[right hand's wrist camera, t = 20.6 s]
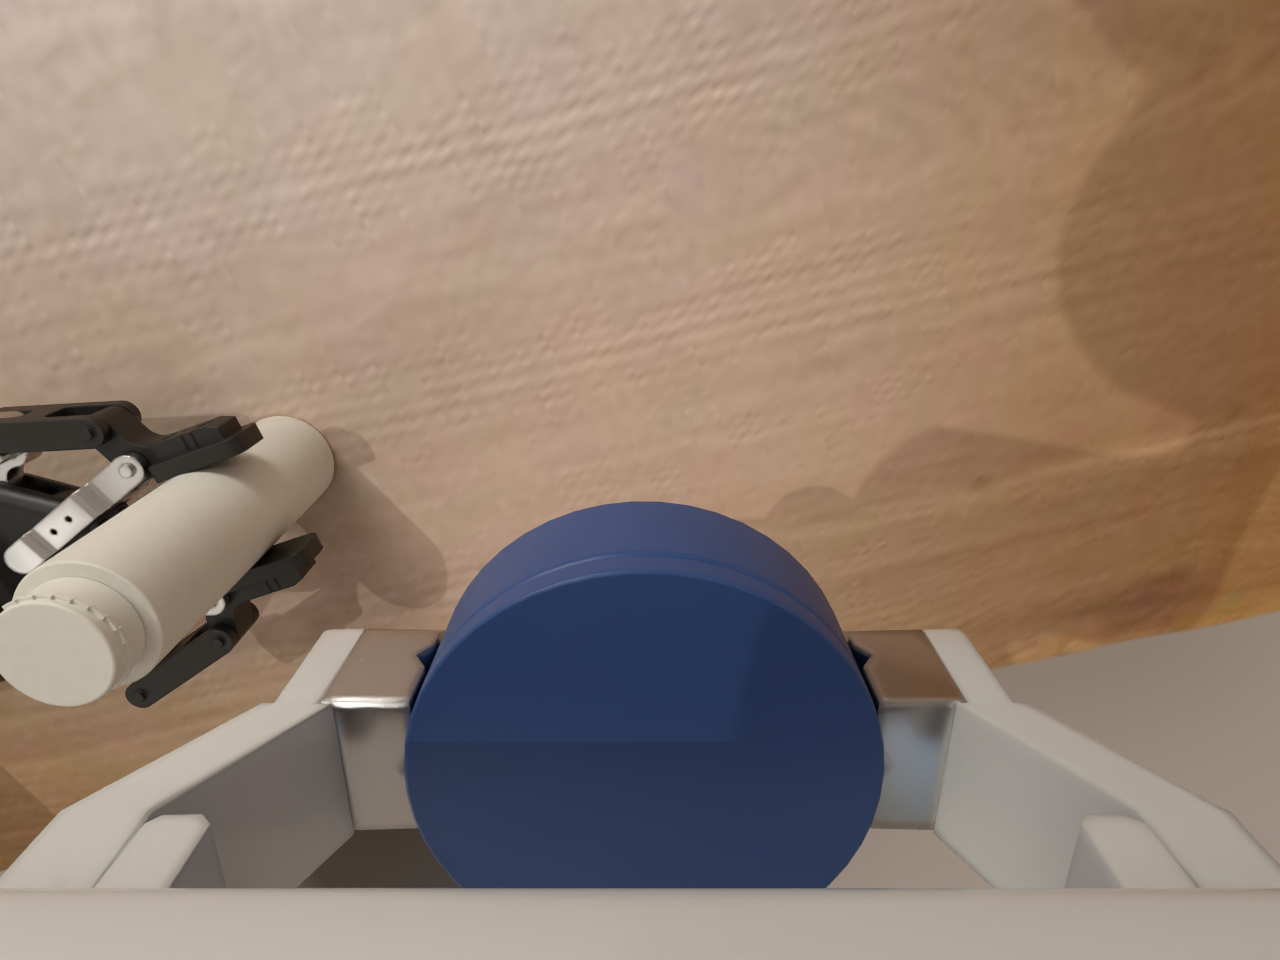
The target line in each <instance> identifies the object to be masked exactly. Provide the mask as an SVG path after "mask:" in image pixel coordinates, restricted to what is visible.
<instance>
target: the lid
mask: <svg viewBox="0 0 1280 960" xmlns="http://www.w3.org/2000/svg"><path fill="white" fill-rule="evenodd" d="M404 775H405V783H406V791H407V796H408V799H409V803H410V806H411V810H412V813H413V817H414V819H415V822H416V824H417V826H418V828H419V830H420V832H421V835H422V837H423V839H424V841H425V843H426V844H427V846H428V847H429V849H430V850H431V852H432V853H433V855H434V856H435V858H436V859H437V861H438V862H439V864H440V865H441V866H442V867H443V868H444V869H445V871H446V872H447V873H448V874H449V875H450V876H451V877H452V879H453V880H454V881H455V882H456V883H457V884H458V885H459V886H460V887H462V888H826V887H827V886H828V885H830V884H831V882H832V881H833V880H834V879H835V878H836V877H837V876H838V875H839V874H840V873H841V871H842V870H843V869H844V868H845V867H846V866H847V865H848V863H849V862H850V860H851V859H852V857H853V856H854V854H855V853H856V852H857V850H858V849H859V847H860V846H861V844H862V842H863V840H864V838H865V836H866V834H867V832H868V830H869V828H870V826H871V824H872V822H873V819H874V816H875V813H876V810H877V807H878V803H879V800H880V797H881V790H882V784H883V777H884V743H883V737H882V731H881V726H880V720H879V718H878V715H877V712H876V709H875V706H874V704H873V701H872V698H871V695H870V693H869V691H868V688H867V686H866V684H865V682H864V680H863V678H862V676H861V673H860V670H859V668H858V666H857V664H856V661H855V659H854V657H853V655H852V652H851V650H850V648H849V646H848V643H847V641H846V639H845V637H844V634H843V632H842V630H841V628H840V625H839V623H838V621H837V619H836V616H835V614H834V612H833V610H832V608H831V606H830V604H829V603H828V601H827V599H826V597H825V595H824V593H823V592H822V590H821V589H820V587H819V586H818V585H817V583H816V582H815V581H814V579H813V578H812V577H811V575H810V574H809V573H808V571H807V570H806V569H805V568H804V567H803V566H802V565H801V564H800V563H799V562H798V561H797V560H796V559H795V558H794V557H793V556H792V555H791V554H790V553H789V552H787V551H786V550H785V549H783V548H782V547H781V546H779V545H778V544H777V543H775V542H774V541H773V540H771V539H770V538H768V537H767V536H765V535H764V534H762V533H760V532H758V531H756V530H755V529H753V528H751V527H749V526H747V525H746V524H744V523H742V522H739V521H736V520H734V519H731V518H729V517H726V516H724V515H721V514H719V513H716V512H712V511H708V510H704V509H700V508H697V507H693V506H688V505H681V504H673V503H665V502H623V503H615V504H606V505H600V506H596V507H591V508H587V509H583V510H579V511H575V512H572V513H569V514H567V515H564V516H561V517H559V518H556V519H553V520H551V521H548V522H546V523H544V524H542V525H540V526H539V527H537V528H535V529H533V530H531V531H529V532H527V533H525V534H523V535H522V536H521V537H519V538H518V539H516V540H515V541H514V542H512V543H511V544H509V545H508V546H507V547H505V548H504V549H502V550H501V551H500V552H499V553H498V554H497V555H496V556H495V557H494V558H493V559H492V560H491V561H490V562H489V563H487V564H486V565H485V566H484V567H483V568H482V570H481V571H480V572H479V573H478V575H477V576H476V577H475V578H474V580H473V581H472V582H471V583H470V585H469V586H468V587H467V589H466V591H465V592H464V594H463V596H462V598H461V599H460V601H459V603H458V604H457V606H456V608H455V610H454V613H453V615H452V617H451V620H450V622H449V624H448V627H447V629H446V631H445V634H444V636H443V638H442V641H441V643H440V645H439V648H438V650H437V652H436V655H435V657H434V659H433V662H432V664H431V666H430V669H429V671H428V674H427V676H426V678H425V681H424V683H423V685H422V688H421V690H420V692H419V695H418V697H417V700H416V703H415V705H414V708H413V710H412V713H411V715H410V719H409V724H408V729H407V733H406V738H405V746H404Z"/></svg>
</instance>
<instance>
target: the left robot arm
mask: <svg viewBox="0 0 1280 960" xmlns="http://www.w3.org/2000/svg"><path fill="white" fill-rule="evenodd" d="M263 438H264V437H263V436H262V434H261V432H260V430H259V428H258V427H257V425H256V423H255V422H254V423H250V424H247V425H245V426H242V427H241V426H240V424H239V422H238V420H237V418H236V417H235V416H220V417H217V418H214V419H212V420H209V421H206V422H203V423H200V424H197V425H195V426H192V427H189V428H186V429H183V430H181V431H178V432H175V433H172V434H169V435H159V434H156V433H154V432H152V431H150V430H149V429H148V428H146V427H145V426H144V425H143V424H142V423H141V413H140V411H139V409H138V408H137V407H136V406H135V405H134V404H132V403H130V402H128V401H107V402H89V403H71V404H53V405H35V406H17V407H3V408H0V613H1V612H3V611H4V609H3V608H2V606H3V605H5V604H7V603H9V602H11V601H12V599H13V596H14V593H15V590H16V588H17V587H18V585H19V583H20V582H21V581H22V579H23V578H24V577H25V576H26V575H27V574H28V573H29V572H31V571H32V570H34V569H35V568H37V567H38V566H40V565H41V564H43V563H44V562H46V561H47V560H49V559H50V558H52V557H53V556H55V555H56V554H58V553H60V552H61V551H63V550H64V549H66V548H67V547H69V546H70V545H72V544H73V543H75V542H76V541H78V540H79V539H81V538H82V537H84V536H85V535H87V534H88V533H90V532H91V531H93V530H94V529H96V528H97V527H99V526H100V525H102V524H103V523H105V522H106V521H108V520H109V519H111V518H112V517H114V516H115V515H117V514H118V513H120V512H121V511H123V510H125V509H126V508H128V507H129V506H128V505H127V502H128V501H130V500H131V499H132V498H133V497H134V496H135V495H137V494H138V493H139V492H140V491H141V490H142V489H144V488H145V487H146V486H147V485H148V484H149V482H150V481H151V480H153V479H155V480H156V482H157V483H159V482H162V481H165V480H168V479H171V478H174V477H176V476H178V475H182V474H185V473H188V472H191V471H194V470H197V469H200V468H203V467H205V466H208V465H211V464H214V463H217V462H220V461H223V460H225V459H228V458H231V457H234V456H236V455H239V454H241V453H243V452H245V451H247V450H248V449H250V448H251V447H252V446H254V445H255V444H257V443H258V442H259V441H261V440H262V439H263ZM94 448H96V449H97V450H98V451H99V452H100V453H101V454H102V455H104V456H105V457H106V458H107V459H108V460H109V461H110V462H111V463H110V464H108V465H107V466H106V467H105V468H104V469H103V470H102V471H100V472H99V473H98V474H97V475H96V476H95V477H94V478H92V479H91V480H90V481H89V482H88V483H86V484H85V485H84V486H82V487H78V486H74V485H70V484H66V483H62V482H59V481H55V480H51V479H47V478H43V477H40V476H36V475H32V474H28V473H24V471H23V468H24V465H25V463H28V462H30V461H32V460H34V459H36V458H38V457H39V456H40V455H41V454H42V452H43V451H61V450H79V449H94ZM322 549H323V546H322V544H321V542H320V541H319V539H318V537H317V535H316V533H310V534H306V535H303V536H300V537H297V538H294V539H291V540H288V541H285V542H282V543H279V544H276V545H273V546H272V547H271V548H270V549H269V550H268V551H267V552H266V553H265V554H264V555H263V556H262V557H261V558H260V559H259V560H258V561H257V562H256V563H255V564H254V565H253V566H252V567H251V568H250V569H249V570H248V571H247V572H246V573H245V574H244V576H243V577H242V578H241V579H240V580H239V581H238V582H237V583H236V584H235V585H234V586H233V587H232V588H231V589H230V590H229V591H228V592H227V593H226V594H225V595H224V596H223V597H222V598H221V599H220V600H219V601H218V602H217V603H216V604H215V605H214V606H213V608H212V609H211V610H210V611H209V612H208V613H207V614H206V620H207V623H205V624H204V625H202V626H201V627H200V628H198V629H197V630H195V631H194V632H192V633H191V634H190V635H188V636H187V637H185V638H184V639H182V640H181V641H180V642H179V643H178V644H177V645H176V646H175V647H174V648H173V649H172V650H171V651H170V652H169V653H168V654H167V655H166V656H165V657H164V658H163V659H162V660H161V661H160V662H159V663H158V664H157V665H156V666H155V667H154V668H153V669H152V670H151V672H149V673H148V674H147V675H146V676H144V677H143V678H141V679H139V680H137V681H135V682H133V683H132V684H131V685H130V686H129V687H128V688H127V689H126V692H125V695H126V698H127V700H128V701H129V702H130V703H131V704H133V705H134V706H137V707H141V708H145V707H149V706H151V705H152V704H154V703H155V702H156V701H158V700H159V699H161V698H162V697H164V696H165V695H167V694H168V693H170V692H171V691H173V690H174V689H176V688H177V687H179V686H180V685H181V684H183V683H184V682H186V681H187V680H189V679H190V678H192V677H193V676H195V675H196V674H198V673H199V672H201V671H202V670H204V669H205V668H206V667H208V666H209V665H211V664H212V663H214V662H215V661H217V660H218V659H220V658H221V657H223V656H224V655H226V654H227V653H229V652H230V651H231V650H232V648H233V647H234V646H235V645H236V644H237V643H238V642H239V640H240V639H241V638H242V637H243V636H244V635H245V633H246V632H247V631H248V630H249V629H250V627H251V626H252V625H253V624H254V623H255V622H256V620H257V619H258V617H259V611H258V609H257V607H256V606H255V605H254V604H252V603H251V602H250V600H251V599H254V598H257V597H260V596H263V595H266V594H270V593H272V592H276V591H279V590H281V589H285V588H288V587H291V586H294V585H295V584H297V583H298V582H299V581H300V580H301V579H302V578H303V577H304V576H305V575H306V574H307V572H308V571H309V570H310V569H311V568H312V566H313V565H314V564H315V563H316V562H315V560H314V558H315V557H316V556H317V555H318V554H319V552H320V551H321V550H322ZM2 681H5V679H4V677H3V676H2V675H1V674H0V682H2Z"/></svg>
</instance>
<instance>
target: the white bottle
mask: <svg viewBox="0 0 1280 960" xmlns="http://www.w3.org/2000/svg"><path fill="white" fill-rule="evenodd" d="M256 425H257V427H258V428H259V430H260V432H261V434H262V436H263V437H264V438H263V439H262V440H261V441H259V442H258V443H257V444H255V445H254V446H252V447H251V448H250V449H248V450H247V451H245V452H243V453H241V454H239V455H236V456H234V457H231V458H228V459H225V460H223V461H220V462H217V463H214V464H211V465H208V466H205V467H203V468H200V469H197V470H194V471H191V472H188V473H185V474H182V475H178V476H176V477H174V478H171V479H170V480H168V481H167V482H165V483H164V484H162V485H161V486H159V487H158V488H156V489H155V490H153V491H152V492H150V493H149V494H147V495H146V496H144V497H143V498H141V499H140V500H138V501H137V502H135V503H134V504H132V505H131V506H129V507H128V508H126V509H125V510H123V511H121V512H120V513H118V514H117V515H115V516H114V517H112V518H111V519H109V520H108V521H106V522H105V523H103V524H102V525H100V526H99V527H97V528H96V529H94V530H93V531H91V532H90V533H88V534H87V535H85V536H84V537H82V538H81V539H79V540H78V541H76V542H75V543H73V544H72V545H70V546H69V547H67V548H66V549H64V550H63V551H61V552H60V553H58V554H56V555H55V556H53V557H52V558H50V559H49V560H47V561H46V562H44V563H43V564H41V565H40V566H38V567H37V568H35V569H34V570H32V571H31V572H29V573H28V574H27V575H26V576H25V577H24V578H23V579H22V581H21V582H20V583H19V585H18V587H17V588H16V590H15V593H14V596H13V599H12V601H11V602H9V603H7V604H5V605H3V606H2V608H3V609H4V611H3V612H1V613H0V674H1V675H2V676H3V677H4V679H5V680H6V681H7V682H8V683H10V684H11V685H12V686H13V687H14V688H16V689H17V690H18V691H20V692H21V693H23V694H25V695H26V696H28V697H30V698H32V699H34V700H37V701H40V702H42V703H46V704H50V705H55V706H63V707H73V706H81V705H85V704H88V703H91V702H93V701H96V700H97V699H99V698H101V697H102V696H104V695H105V694H106V693H107V692H109V691H111V690H112V689H114V688H115V689H116V688H117V687H119V686H123V685H127V684H130V683H133V682H135V681H137V680H139V679H141V678H143V677H144V676H146V675H147V674H148V673H149V672H151V670H152V669H153V668H154V667H155V666H156V665H157V664H158V663H159V662H160V661H161V660H162V659H163V658H164V657H165V656H166V655H167V654H168V653H169V652H170V651H171V650H172V649H173V648H174V647H175V646H176V645H177V644H178V643H179V642H180V641H181V640H182V638H183V637H184V636H185V635H186V634H187V633H188V632H189V631H190V630H191V629H192V628H193V627H194V626H195V625H196V624H197V623H198V622H199V621H200V620H201V619H202V618H203V617H204V616H205V615H206V614H207V613H208V612H209V611H210V610H211V609H212V608H213V606H214V605H215V604H216V603H217V602H218V601H219V600H220V599H221V598H222V597H223V596H224V595H225V594H226V593H227V592H228V591H229V590H230V589H231V588H232V587H233V586H234V585H235V584H236V583H237V582H238V581H239V580H240V579H241V578H242V577H243V576H244V574H245V573H246V572H247V571H248V570H249V569H250V568H251V567H252V566H253V565H254V564H255V563H256V562H257V561H258V560H259V559H260V558H261V557H262V556H263V555H264V554H265V553H266V552H267V551H268V550H269V549H270V548H271V547H272V546H273V545H274V543H275V542H276V541H277V540H278V539H279V538H280V537H281V536H282V535H283V534H284V533H285V532H286V531H287V530H288V529H289V528H290V527H291V526H292V525H293V524H294V523H295V522H296V521H297V520H298V519H299V518H300V517H301V516H302V515H303V514H304V513H305V511H306V510H307V509H308V508H309V507H310V506H311V505H312V504H313V503H314V502H315V501H316V500H317V499H318V498H319V497H320V496H321V495H322V494H323V493H324V492H325V491H326V490H327V488H328V487H329V485H330V483H331V481H332V479H333V475H334V458H333V454H332V451H331V449H330V447H329V445H328V443H327V441H326V440H325V439H324V437H323V436H322V435H321V434H320V433H319V432H318V431H317V430H316V429H315V428H313V427H312V426H310V425H309V424H307V423H305V422H303V421H301V420H298V419H296V418H292V417H287V416H273V417H268V418H264V419H262V420H260V421H258V422H256Z"/></svg>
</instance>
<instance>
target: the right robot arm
mask: <svg viewBox="0 0 1280 960" xmlns="http://www.w3.org/2000/svg"><path fill="white" fill-rule="evenodd" d="M444 634H445V631H444V630H400V629H369V630H367V629H365V628H358V629H330V630H327V631H324V632H323V633H322V635H321V636H320V638H319V639H318V640H317V642H316V643H315V645H314V646H313V648H312V649H311V650H310V652H309V653H308V655H307V656H306V658H305V659H304V661H303V662H302V663H301V665H300V666H299V668H298V669H297V671H296V672H295V674H294V675H293V676H292V678H291V679H290V681H289V682H288V684H287V685H286V686H285V688H284V689H283V691H282V692H281V694H280V695H279V697H278V698H277V699H276V701H275V702H274V703H261V704H259V705H258V706H256V707H254V708H252V709H250V710H248V711H246V712H245V713H243V714H241V715H239V716H237V717H235V718H233V719H231V720H230V721H228V722H226V723H224V724H222V725H220V726H218V727H216V728H215V729H213V730H211V731H209V732H207V733H205V734H203V735H202V736H200V737H198V738H196V739H194V740H192V741H190V742H188V743H187V744H185V745H183V746H181V747H179V748H177V749H175V750H174V751H172V752H170V753H168V754H166V755H164V756H162V757H160V758H159V759H157V760H155V761H153V762H151V763H149V764H147V765H146V766H144V767H142V768H140V769H138V770H136V771H134V772H132V773H131V774H129V775H127V776H125V777H123V778H121V779H119V780H118V781H116V782H114V783H112V784H110V785H108V786H106V787H104V788H103V789H101V790H99V791H97V792H95V793H93V794H91V795H90V796H88V797H86V798H84V799H82V800H80V801H78V802H76V803H75V804H73V805H71V806H69V807H67V808H65V809H63V810H62V811H60V812H59V813H58V814H57V815H56V816H55V817H54V819H53V820H52V821H51V822H50V823H49V824H48V825H47V826H46V827H45V828H44V830H43V831H42V832H41V833H40V834H39V835H38V836H37V837H36V838H35V839H34V841H33V842H32V843H31V844H30V845H29V846H28V847H27V848H26V849H25V850H24V852H23V853H22V854H21V855H20V856H19V857H18V858H17V859H16V860H15V861H14V863H13V864H12V865H11V866H10V867H9V868H8V869H7V870H6V871H5V872H4V873H3V875H2V876H1V877H0V960H1280V864H1279V863H1278V862H1277V861H1276V860H1275V859H1274V858H1273V857H1272V856H1271V854H1270V853H1269V852H1268V851H1267V850H1266V849H1265V848H1264V847H1263V846H1262V845H1261V844H1260V843H1259V841H1258V840H1257V839H1256V838H1255V837H1254V836H1253V835H1252V834H1251V833H1250V832H1249V831H1248V829H1247V828H1246V827H1245V826H1244V825H1243V824H1242V823H1241V822H1240V821H1239V820H1238V819H1237V818H1236V816H1235V815H1234V814H1233V813H1232V812H1230V811H1228V810H1226V809H1224V808H1223V807H1221V806H1219V805H1217V804H1215V803H1213V802H1211V801H1209V800H1208V799H1206V798H1204V797H1202V796H1200V795H1198V794H1196V793H1194V792H1192V791H1191V790H1189V789H1187V788H1185V787H1183V786H1181V785H1179V784H1177V783H1176V782H1174V781H1172V780H1170V779H1168V778H1166V777H1164V776H1162V775H1160V774H1159V773H1157V772H1155V771H1153V770H1151V769H1149V768H1147V767H1145V766H1144V765H1142V764H1140V763H1138V762H1136V761H1134V760H1132V759H1130V758H1129V757H1127V756H1125V755H1123V754H1121V753H1119V752H1117V751H1115V750H1114V749H1112V748H1110V747H1108V746H1106V745H1104V744H1102V743H1100V742H1098V741H1097V740H1095V739H1093V738H1091V737H1089V736H1087V735H1085V734H1084V733H1082V732H1080V731H1078V730H1076V729H1074V728H1072V727H1070V726H1068V725H1067V724H1065V723H1063V722H1061V721H1059V720H1057V719H1055V718H1053V717H1052V716H1050V715H1048V714H1046V713H1044V712H1042V711H1040V710H1038V709H1036V708H1035V707H1033V706H1031V705H1029V704H1027V703H1014V702H1013V700H1012V699H1011V698H1010V696H1009V695H1008V693H1007V692H1006V691H1005V689H1004V688H1003V687H1002V685H1001V684H1000V682H999V681H998V680H997V678H996V677H995V675H994V674H993V673H992V671H991V670H990V668H989V667H988V666H987V664H986V663H985V661H984V660H983V659H982V657H981V656H980V654H979V653H978V652H977V650H976V649H975V647H974V646H973V645H972V643H971V642H970V640H969V639H968V638H967V636H966V635H965V634H964V632H963V631H961V630H959V629H957V628H945V629H919V630H885V631H846V632H843V634H844V637H845V639H846V641H847V643H848V646H849V648H850V650H851V652H852V655H853V657H854V659H855V661H856V664H857V666H858V668H859V670H860V673H861V676H862V678H863V680H864V682H865V684H866V686H867V688H868V691H869V693H870V695H871V698H872V701H873V704H874V706H875V709H876V712H877V715H878V718H879V720H880V726H881V731H882V737H883V743H884V777H883V784H882V790H881V797H880V800H879V803H878V807H877V810H876V813H875V816H874V819H873V822H872V824H871V826H870V828H880V829H917V830H934V834H935V835H936V836H937V837H938V838H939V839H940V840H942V841H943V842H944V843H945V844H946V845H947V846H948V847H949V848H950V849H951V850H952V851H953V852H954V853H956V854H957V855H958V856H959V857H960V858H961V859H962V860H963V861H964V862H965V863H966V864H967V865H968V866H970V867H971V868H972V869H973V870H974V871H975V872H976V873H977V874H978V875H979V876H980V877H981V878H982V879H984V880H985V881H986V882H987V883H988V884H989V885H990V886H991V887H992V888H297V887H298V886H299V885H300V884H301V883H302V882H303V881H304V880H305V879H306V878H307V877H308V876H309V875H310V874H312V873H313V872H314V871H315V870H316V869H317V868H318V867H319V866H320V865H321V864H322V863H323V862H324V861H325V860H327V859H328V858H329V857H330V856H331V855H332V854H333V853H334V852H335V851H336V850H337V849H338V848H339V847H340V846H342V845H343V844H344V843H345V842H346V841H347V840H348V839H349V838H350V837H351V836H352V835H353V834H354V830H370V829H405V828H418V826H417V824H416V822H415V819H414V817H413V813H412V810H411V806H410V803H409V799H408V796H407V791H406V783H405V775H404V746H405V738H406V733H407V729H408V724H409V719H410V715H411V713H412V710H413V708H414V705H415V703H416V700H417V697H418V695H419V692H420V690H421V688H422V685H423V683H424V681H425V678H426V676H427V674H428V671H429V669H430V666H431V664H432V662H433V659H434V657H435V655H436V652H437V650H438V648H439V645H440V643H441V641H442V638H443V636H444Z"/></svg>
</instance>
